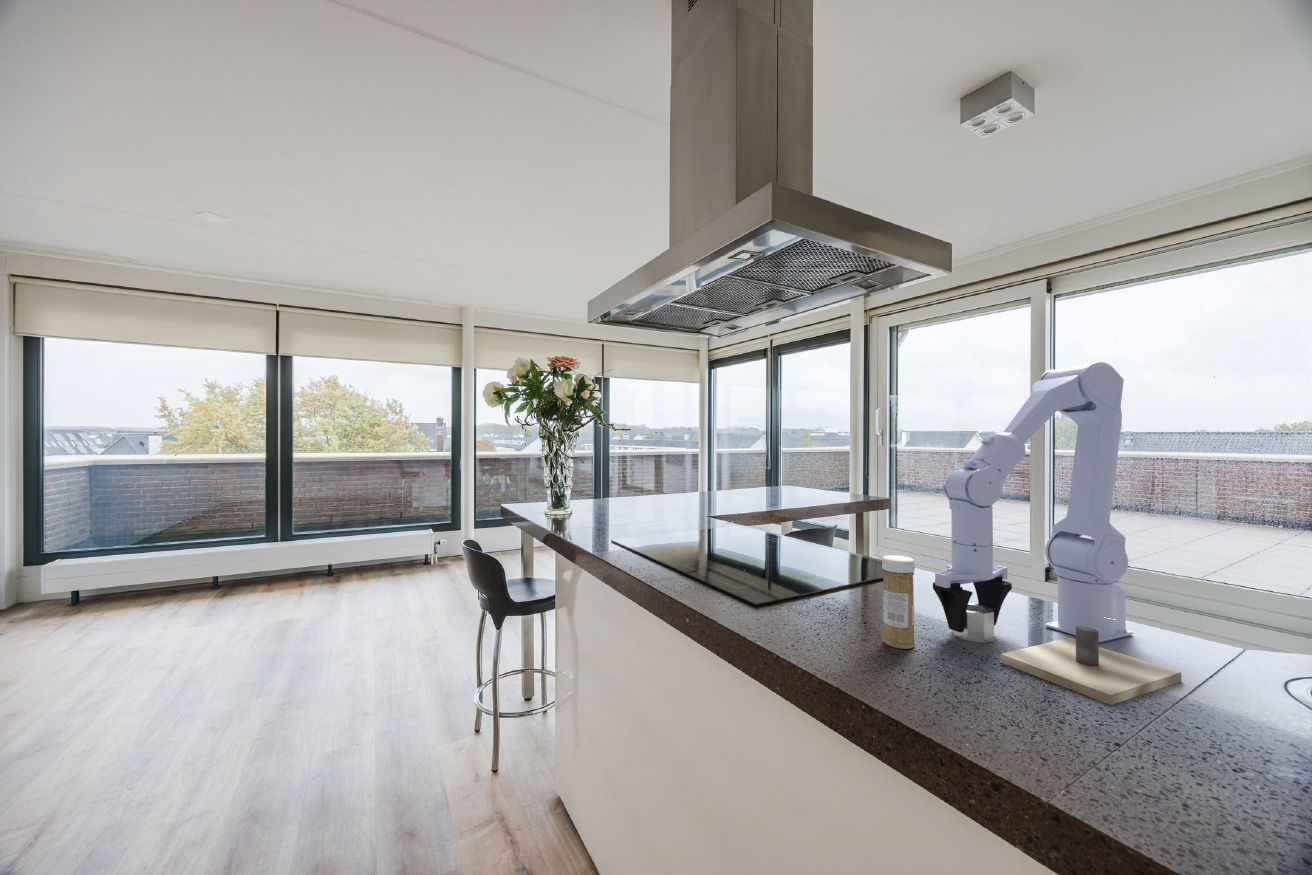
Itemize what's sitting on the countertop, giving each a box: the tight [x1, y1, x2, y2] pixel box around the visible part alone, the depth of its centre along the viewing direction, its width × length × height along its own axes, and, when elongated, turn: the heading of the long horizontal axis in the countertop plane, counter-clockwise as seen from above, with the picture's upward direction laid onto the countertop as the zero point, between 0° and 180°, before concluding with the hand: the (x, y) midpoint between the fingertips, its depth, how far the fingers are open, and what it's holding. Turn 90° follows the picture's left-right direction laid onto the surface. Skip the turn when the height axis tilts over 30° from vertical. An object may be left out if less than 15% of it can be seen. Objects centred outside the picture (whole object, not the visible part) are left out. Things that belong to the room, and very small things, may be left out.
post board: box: [1000, 626, 1182, 706], centre depth 70 cm, size 16×13×6 cm
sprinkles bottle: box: [881, 554, 916, 650], centre depth 80 cm, size 5×5×14 cm
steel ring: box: [951, 602, 995, 644], centre depth 83 cm, size 6×6×4 cm
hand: (972, 626), depth 83 cm, fingers open, 7 cm apart
